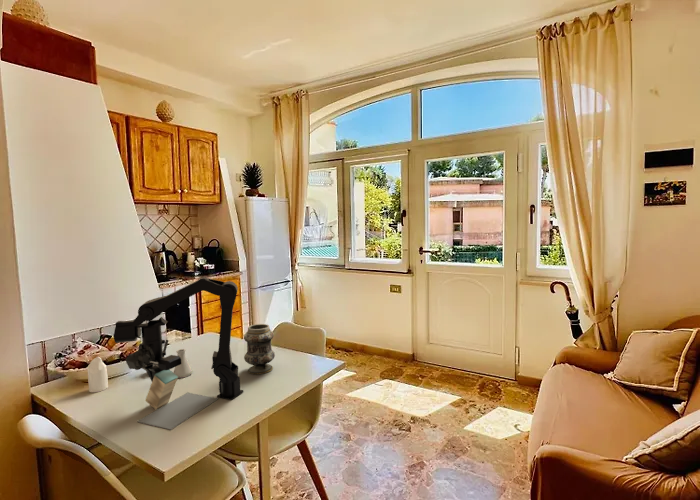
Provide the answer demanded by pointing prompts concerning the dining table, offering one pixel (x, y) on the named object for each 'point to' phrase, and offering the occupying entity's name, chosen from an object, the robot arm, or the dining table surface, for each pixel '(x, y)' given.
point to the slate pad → (177, 411)
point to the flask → (182, 365)
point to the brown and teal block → (161, 388)
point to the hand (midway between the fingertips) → (155, 384)
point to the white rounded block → (97, 375)
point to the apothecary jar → (259, 348)
